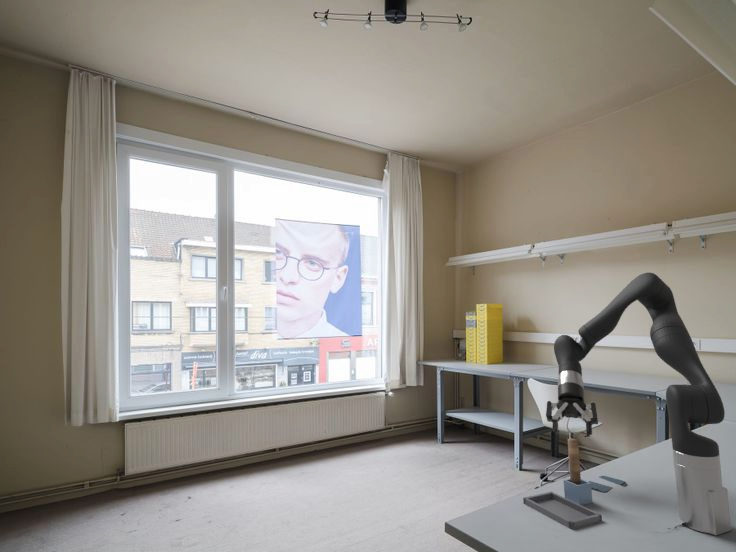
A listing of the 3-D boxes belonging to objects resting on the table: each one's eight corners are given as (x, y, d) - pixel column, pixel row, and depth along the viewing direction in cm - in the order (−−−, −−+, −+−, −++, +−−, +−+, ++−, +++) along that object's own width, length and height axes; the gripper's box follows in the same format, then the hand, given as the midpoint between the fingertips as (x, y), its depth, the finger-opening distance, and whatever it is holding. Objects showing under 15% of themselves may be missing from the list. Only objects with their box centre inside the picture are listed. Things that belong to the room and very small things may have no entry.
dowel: (584, 501, 116) (580, 440, 118) (577, 503, 115) (573, 441, 117) (576, 497, 119) (572, 438, 120) (569, 499, 118) (565, 439, 119)
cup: (592, 506, 116) (591, 483, 116) (579, 509, 114) (577, 485, 114) (578, 499, 120) (576, 477, 121) (565, 502, 118) (563, 479, 119)
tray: (602, 525, 105) (601, 514, 105) (572, 533, 101) (571, 522, 101) (551, 500, 120) (551, 491, 120) (523, 507, 116) (523, 497, 116)
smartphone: (627, 481, 130) (605, 492, 121) (628, 487, 130) (605, 498, 121) (601, 474, 136) (578, 484, 127) (602, 480, 136) (579, 490, 127)
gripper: (596, 396, 137) (600, 443, 126) (548, 394, 144) (548, 439, 133) (594, 381, 133) (598, 428, 122) (545, 380, 140) (544, 425, 129)
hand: (572, 434), depth 127 cm, fingers open, 8 cm apart
